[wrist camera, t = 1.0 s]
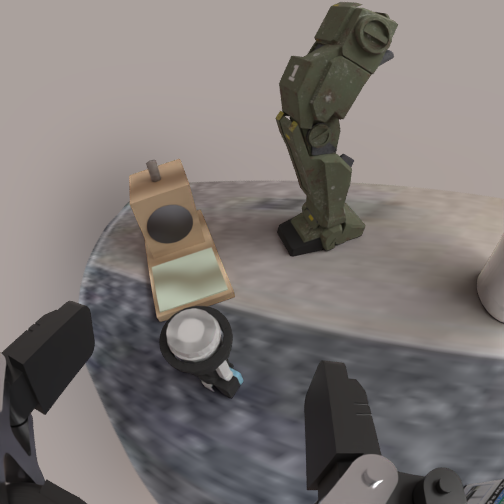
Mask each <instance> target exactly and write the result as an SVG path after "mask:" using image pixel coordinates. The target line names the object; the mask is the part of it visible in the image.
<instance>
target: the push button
mask: <svg viewBox="0 0 504 504" xmlns="http://www.w3.org/2000/svg"><path fill="white" fill-rule="evenodd" d="M221 330H222V331H223V335H224V336H223V342H222V338H221ZM232 338H233V336H232V330H231V327H230V324H229V322H228V320H227V319H226V317H225V316H224V315H223V314H222V313H220V312H219V311H218V310H216V309H214V308H211V307H207V306H191V307H187V308H184V309H182V310H180V311H178V312H177V313H175V314H174V315H172V316H171V317H170V318H169V319H168V321H167V322H166V323H165V325H164V326H163V328H162V331H161V334H160V340H159V343H160V349H161V352H162V355H163V357H164V358H165V359H166V361H167V362H168V363H169V364H170V365H171V366H172V367H174V368H175V369H177V370H179V371H182V372H186V373H191V374H193V375H194V376H198V377H199V379H201V380H202V381H201V382H202V383H203V385H204V386H205V387H207V388H208V389H210V390H212V391H214V390H213V388H211V387H212V386H213V385H214V386H216V387H217V388H218V389H219V390H220V391H221V392H222V393H223V394H224V395H226V396H228V397H229V398H233V396H234V395H235V393H236V392H237V390H238V389H239V387H240V386H241V384H242V382H243V379H242V376H241V374H240V373H239V372H237V371H235V370H234V369H232V368H233V367H234V366H233V364H231V363H230V362H229V361H228V359H227V358H228V357H229V354H230V351H231V347H232ZM174 354H175V355H176V356H178V357H179V358H181V359H182V360H183V362H181V361H179V360H177V359H176V358H175V356H174Z"/></svg>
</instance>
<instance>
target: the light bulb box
mask: <svg viewBox="0 0 504 504" xmlns="http://www.w3.org/2000/svg"><path fill="white" fill-rule="evenodd" d="M464 493H465V496H466V500H467V504H504V479H502V480H496V481H490V482H483V483H476V484H468V485H467V486H466V487H465V489H464Z"/></svg>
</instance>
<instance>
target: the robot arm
mask: <svg viewBox="0 0 504 504" xmlns="http://www.w3.org/2000/svg"><path fill="white" fill-rule="evenodd" d="M477 291H478V295H479V298H480V300H481V302H482V304H483V305H484V307H485V309H486V310H487V311H488V312H489V313H490V314H491V315H492V316H493V317H494V318H495V319H497V320H499V321H500V322H503V323H504V233H503V235H502V237H501V239H500V241H499V243H498V244H497V246H496V248H495V250H494V251H493V253H492V255H491V256H490V258H489V260H488V261H487V263H486V265H485V266H484V268H483V269H482V271H481V273H480V274H479V276H478V279H477ZM94 346H95V340H94V334H93V327H92V320H91V313H90V309H89V308H88V307H87V306H85V305H82V304H79V303H76V302H73V301H68V302H66V303H65V304H64V305H63V306H62V307H61V308H59V309H58V310H55V311H52V312H50V313H48V314H45V315H44V316H43V317H41V318H40V319H39V320H38V321H37V322H36V323H35V324H33V325H32V326H31V327H30V328H29V329H28V331H27V330H26V331H25V332H24V333H23V334H22V335H21V336H20V337H18V338H17V339H16V340H15V341H14V342H13V343H12V344H11V345H10V346H8V347H7V348H6V349H5V350H4V351H3V352H2V353H0V504H87V503H85V502H84V501H83V500H81V499H80V498H79V497H77V496H75V495H73V494H71V493H70V492H68V491H66V490H64V489H62V488H60V487H59V486H57V485H55V484H53V483H52V482H50V481H48V480H46V481H45V480H44V477H43V475H42V472H41V470H40V468H39V466H38V462H37V457H36V449H35V441H34V430H33V418H32V415H31V412H32V411H33V410H34V409H36V410H38V411H40V412H41V413H43V414H45V415H46V413H47V412H48V411H49V409H50V408H51V407H52V405H53V404H54V403H55V401H56V400H57V399H58V397H59V396H60V395H61V394H62V392H63V391H64V390H65V388H66V387H67V386H68V384H69V383H70V382H71V381H72V379H73V378H74V377H75V375H76V374H77V373H78V372H79V370H80V369H81V368H82V367H83V365H84V364H85V363H86V362H87V360H88V359H89V358H90V357H91V355H92V353H93V350H94ZM304 413H305V438H306V476H307V490H318V500H317V501H316V502H315V503H314V504H467V500H466V496H465V493H464V489H463V485H462V482H461V479H460V478H459V476H458V475H457V474H456V473H455V472H454V471H452V470H450V469H448V468H436V469H434V470H432V471H430V472H429V473H428V474H427V475H426V476H425V477H424V476H418V475H412V474H406V473H402V472H399V471H397V469H396V467H395V466H394V464H393V463H392V462H391V461H390V460H388V459H387V458H385V457H383V456H382V455H381V452H380V448H379V443H378V439H377V435H376V431H375V427H374V423H373V419H372V416H371V411H370V407H369V406H368V400H367V396H366V392H365V390H364V389H363V387H362V386H361V385H360V384H359V382H358V381H357V380H356V379H348V375H347V371H346V366H345V364H344V363H340V362H331V361H323V360H322V361H320V363H319V365H318V367H317V370H316V372H315V375H314V377H313V380H312V382H311V384H310V387H309V389H308V392H307V395H306V399H305V405H304Z"/></svg>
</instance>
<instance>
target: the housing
mask: <svg viewBox="0 0 504 504" xmlns="http://www.w3.org/2000/svg"><path fill="white" fill-rule="evenodd" d="M146 165H147V168H148V169H147V170H144V171H141V172H138V173H135V174H133V175H130V176H129V183H130V186H129V187H130V206H131V208H132V210H133V213H134V215H135V217H136V220H137V222H138V224H139V226H140V229H141V231H142V233H143V235H144V239H145V247H146V254H147V261H148V268H149V275H150V281H151V287H152V293H153V299H154V304H155V310H156V315H157V318H158V320H159V321H160V322H162V321H165V320H168V319H169V318H170V317H171V316H172V315H174V314H175V313H177V312H178V311H180V310H182V309H184V308H187V307H191V306H210V305H213V304H216V303H219V302H222V301H225V300H228V299H231V298H233V297H235V295H234V291H233V289H232V286H231V284H230V281H229V279H228V277H227V274H226V272H225V269H224V267H223V264H222V262H221V259H220V257H219V254H218V252H217V249H216V247H215V244H214V242H213V239H212V237H211V234H210V232H209V229H208V227H207V224H206V222H205V219H204V217H203V214H202V212H201V210H197V211H196V207H195V204H194V200H193V196H192V192H191V189H190V185H189V182H188V179H187V177H186V174H185V171H184V168H183V166H182V163H181V160H180V159H177V160H174V161H171V162H168V163H165V164H162V165H159V166H157V162H156V160H151V161H149V162H147V163H146Z"/></svg>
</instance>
